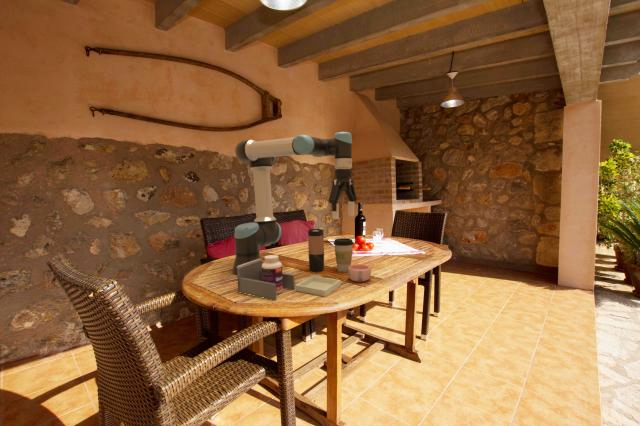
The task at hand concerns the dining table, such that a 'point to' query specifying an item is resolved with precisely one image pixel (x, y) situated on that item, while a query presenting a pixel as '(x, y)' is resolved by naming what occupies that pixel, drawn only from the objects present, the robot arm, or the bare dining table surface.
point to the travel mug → (316, 250)
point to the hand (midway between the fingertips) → (343, 217)
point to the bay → (259, 280)
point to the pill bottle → (273, 272)
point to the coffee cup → (343, 253)
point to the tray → (318, 286)
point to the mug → (359, 272)
